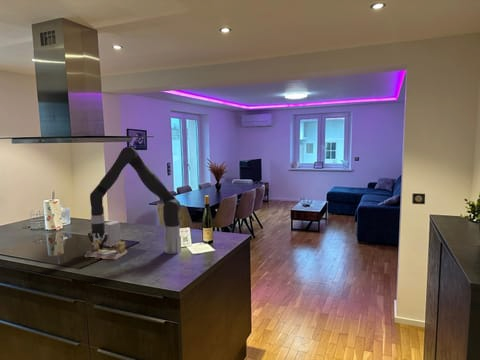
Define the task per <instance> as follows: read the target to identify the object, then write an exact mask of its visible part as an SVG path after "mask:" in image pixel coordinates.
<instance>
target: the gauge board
mask: <svg viewBox="0 0 480 360" xmlns="http://www.w3.org/2000/svg"><path fill="white" fill-rule="evenodd" d="M127 253H128V249H126V241H121V242H119V243H117V244H116V246H114V248H110V247H109V248H107V247H106V248H105V247H104V249H103V250H101V251H94V249H93V250H89V251H88V250H87V251H86V252H85V254H84V258H88V257H95V258H94V259H100V258H102V260H103V259H104V260H117V259H119V258H121V257H122V256H124V255H126V254H127Z"/></svg>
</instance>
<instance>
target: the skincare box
mask: <svg viewBox="0 0 480 360" xmlns="http://www.w3.org/2000/svg"><path fill="white" fill-rule="evenodd" d="M104 231H105V233H107V234H108V233H109V236H108V239H107V241H106V242H105V243H104V247H108V246H109V248H113V247H115V245H116V244H117V243H119V242H122V241H121V222H120V221H117V220H112V221H108V222H105V229H104ZM112 246H113V247H112Z"/></svg>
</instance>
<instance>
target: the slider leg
mask: <svg viewBox="0 0 480 360" xmlns="http://www.w3.org/2000/svg"><path fill="white" fill-rule="evenodd" d="M92 248H93V250H94V251H101V250H100V241H99V239H98V240H97V241H95V242H94V243H93V242H92ZM104 248H105V247H104ZM104 248H103V249H104ZM103 249H102V250H103Z"/></svg>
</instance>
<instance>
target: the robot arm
mask: <svg viewBox="0 0 480 360" xmlns="http://www.w3.org/2000/svg"><path fill="white" fill-rule="evenodd" d="M128 164H129V165H130V166H131V167H132V168H133V170H135V172H136V173H137V176H138V178H139V179H140V181H141V182H142V183H143V185H144V186H145V187H146V188H147V189H148V191H150V192H151V193H152V194H154V195H155V196H157V197H158V198H159V199H160V200H161V201H162V203H163V209H162V211H163V213H162V215H163V222H164V253H165V254H168V255H175V254H179V253H180V252H181V250H182V236H181V233H180V231H181V230H180V227H181V226H180V219H179V212H180V210H181V208H182V206H181V202H180V201H179V200H178V199H177V198H176V197H175V196H174V195H173V194H172V193H171V192H170V191H169V190H168V189H167V187H166V185H165V184H164V183H163V182H162V181H161V179H160V178H159V177H158V176H157V174H155V172H154V171H153V170H152V168H150V167H149V166H148V165H147V164H146V163H145V161H143V159H142V157H141V155H140V154H139V153H138V152H137V150H136V149H135V148H134V147H131V146H125V147H124V148H122V149H121V151H120V152H119V155H117V158H116V159H115V161H114V162H113V164H112V166H111V167H110V169H109V170H108V171H107V172H106V174H105V175H104V176H103V177H102V179H101V180H100V182H99V183H98V184H97V185H96V187H95V188H93V190H92V191H91V193H90V194H89V201H90V202H89V203H90V209H91V210H90V212H91V213H90V214H91V216H90V228H91V231H90V232H88V233H87V236H88V239H89V241H90V243H92V244H93V243H94V242H95V241H97V240H99V241H100V250H102V249H103V248H105V242H106V241H107V239H108V236H109V233H108V234H107V233H105V231H104V229H105V223H106V222H105V221H106V220H105V211H104V205H103V200H104V199H103V198H104V196H105V195H106V194H107V192H108V191H109V190H110V189H111V188H112V187H113V186H114V184H115V183H116V182H117V180H118V179H119V176H120V174H121V173H122V172H123V170H124V168H125V167H126V166H127V165H128Z"/></svg>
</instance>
